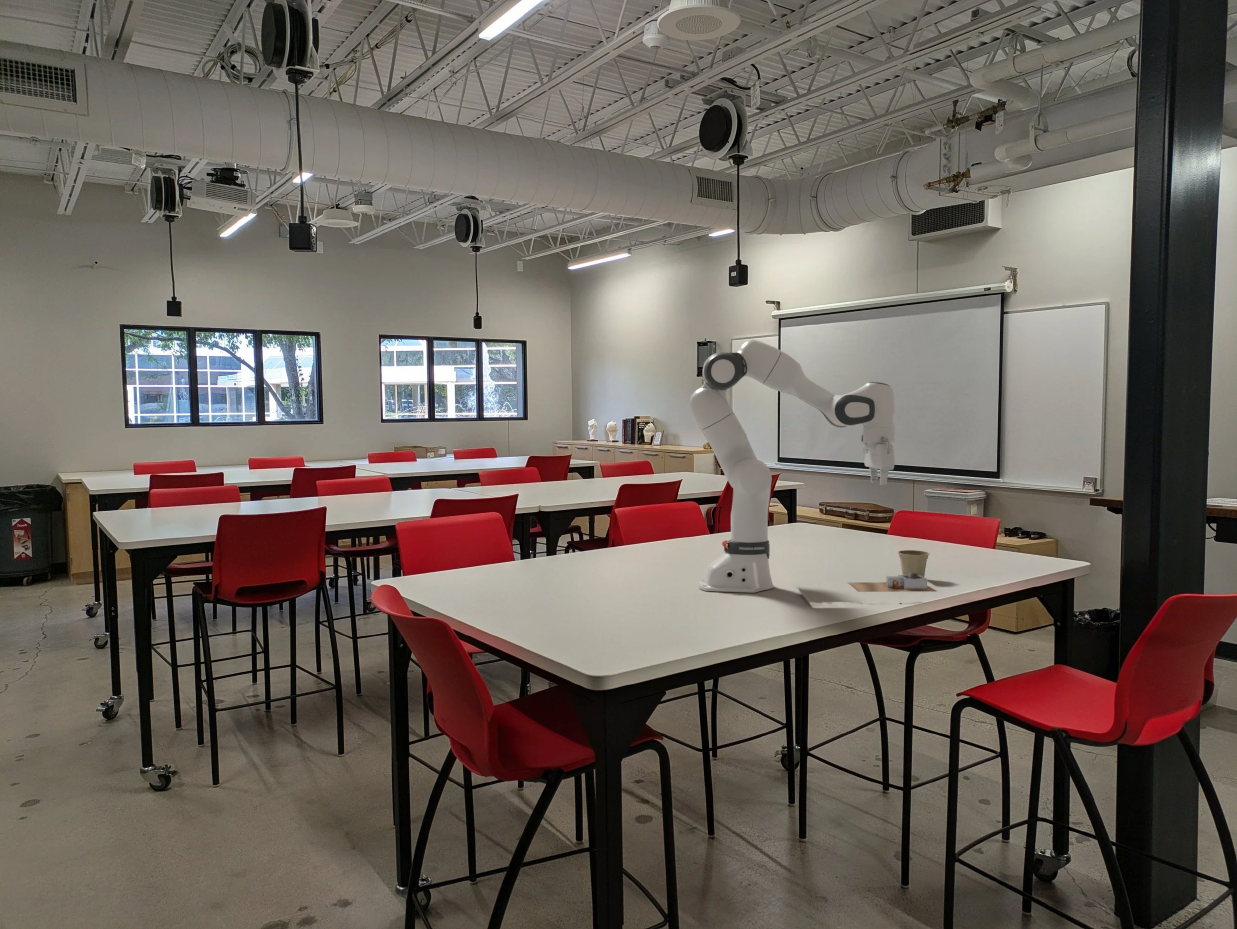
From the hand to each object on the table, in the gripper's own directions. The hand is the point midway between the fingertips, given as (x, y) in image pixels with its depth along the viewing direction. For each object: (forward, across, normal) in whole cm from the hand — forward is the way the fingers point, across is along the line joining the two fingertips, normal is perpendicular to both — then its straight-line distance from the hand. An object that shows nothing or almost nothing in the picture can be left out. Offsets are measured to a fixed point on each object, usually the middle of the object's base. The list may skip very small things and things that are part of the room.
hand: (878, 483), depth 241 cm
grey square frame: (+30, -7, -6) cm, 31 cm away
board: (+31, -6, -2) cm, 32 cm away
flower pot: (+31, +12, -14) cm, 36 cm away
